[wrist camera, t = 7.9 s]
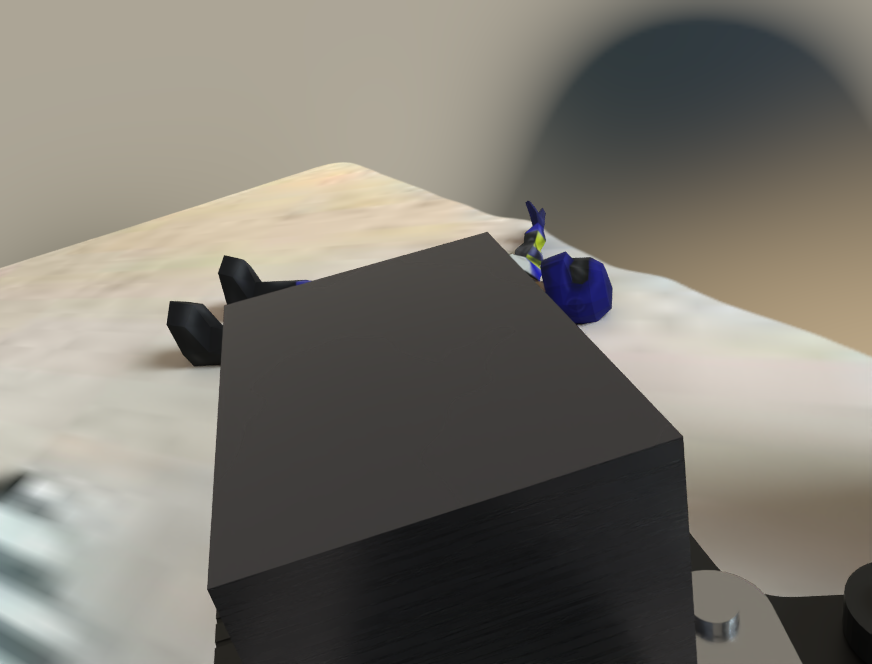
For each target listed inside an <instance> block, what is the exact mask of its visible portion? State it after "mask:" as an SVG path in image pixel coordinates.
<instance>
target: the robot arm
mask: <svg viewBox="0 0 872 664" xmlns="http://www.w3.org/2000/svg"><path fill="white" fill-rule="evenodd" d="M689 538H690V554H691V570H692V586H693V602H694V617H695V633H696V649H697V664H872V563H869V564H866V565H864V566H862V567H860V568H859V569H857V570H856V571H855V572H853V573H852V575H851V576H850V577H849V578H848V580H847V583H846V585H845V591H844V595H830V596H809V597H779V596H771V595H767V594H764V593H763V592H762V591H761V590H760V589H759V588H757V587H756V586H755V585H754V584H752V583H750V582H749V581H747V580H745V579H743V578H741V577H739V576H736V575H734V574H730V573H727V572H722V571H720V570H719V569H718V567H717V566H716V565H715V564H714V563H713V561H712V560H711V559H710V558H709V556H708V555H707V554H706V553H705V552H704V550H703V549H702V548H701V547H700V545H699V544H698V543H697V542H696V540H695V539H694V538H693V537H692V535H691V534H690V533H689ZM216 619H217V624H216V634H215V643H216V648H215V657H214V664H243V663H242V661H241V659H240V657H239V655H238V653H237V651H236V649H235V647H234V645H233V642H232V640H231V638H230V636H229V634H228V632H227V630H226V628H225V626H224V624H223V621H222V619H221V617H220V615H219V613H218V611H217V610H216Z"/></svg>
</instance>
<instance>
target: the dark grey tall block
mask: <svg viewBox="0 0 872 664" xmlns="http://www.w3.org/2000/svg"><path fill="white" fill-rule="evenodd" d="M207 590H208V592H209V594H210V596H211V598H212V601H213V603H214V605H215V607H216V609H217V611H218V613H219V615H220V617H221V619H222V621H223V624H224V626H225V628H226V630H227V632H228V634H229V636H230V638H231V640H232V642H233V645H234V647H235V649H236V651H237V653H238V655H239V657H240V659H241V661H242V663H243V664H697V649H696V633H695V617H694V602H693V586H692V570H691V554H690V538H689V522H688V506H687V491H686V475H685V459H684V443H683V436H682V435H681V434H680V433H679V432H678V431H677V430H676V429H675V428H674V427H673V425H672V424H671V423H670V422H669V421H668V420H667V419H666V418H665V417H664V416H663V415H662V414H661V413H660V412H659V411H658V410H657V409H656V408H655V407H654V406H653V405H652V404H651V402H650V401H649V400H648V399H647V398H646V397H645V396H644V395H643V394H642V393H641V392H640V391H639V390H638V389H637V388H636V387H635V386H634V385H633V384H632V383H631V382H630V381H629V379H628V378H627V377H626V376H625V375H624V374H623V373H622V372H621V371H620V370H619V369H618V368H617V367H616V366H615V365H614V364H613V363H612V362H611V361H610V360H609V359H608V358H607V356H606V355H605V354H604V353H603V352H602V351H601V350H600V349H599V348H598V347H597V346H596V345H595V344H594V343H593V342H592V341H591V340H590V339H589V338H588V337H587V336H586V335H585V333H584V332H583V331H582V330H581V329H580V328H579V327H578V326H577V325H576V324H575V323H574V322H573V321H572V320H571V319H570V318H569V317H568V316H567V315H566V314H565V313H564V312H563V311H562V309H561V308H560V307H559V306H558V305H557V304H556V303H555V302H554V301H553V300H552V299H551V298H550V297H549V296H548V295H547V294H546V293H545V292H544V291H543V290H542V289H541V288H540V286H539V285H538V284H537V283H536V282H535V281H534V280H533V279H532V278H531V277H530V276H529V275H528V274H527V273H526V272H525V271H524V270H523V269H522V268H521V267H520V266H519V265H518V263H517V262H516V261H515V260H514V259H513V258H512V257H511V256H510V255H509V254H508V253H507V252H506V251H505V250H504V249H503V248H502V247H501V246H500V245H499V244H498V243H497V242H496V240H495V239H494V238H493V237H492V236H491V235H490V234H489V233H488V232H486V233H482V234H478V235H475V236H471V237H468V238H464V239H461V240H457V241H453V242H450V243H446V244H443V245H439V246H436V247H432V248H428V249H425V250H421V251H418V252H414V253H411V254H407V255H403V256H400V257H396V258H393V259H389V260H385V261H382V262H378V263H375V264H371V265H368V266H364V267H360V268H357V269H353V270H350V271H346V272H343V273H339V274H335V275H332V276H328V277H325V278H321V279H318V280H314V281H310V282H307V283H303V284H300V285H296V286H293V287H289V288H285V289H282V290H278V291H275V292H271V293H267V294H264V295H260V296H257V297H253V298H250V299H246V300H242V301H239V302H235V303H232V304H228V305H225V306H224V320H223V337H222V353H221V370H220V386H219V403H218V419H217V436H216V453H215V469H214V486H213V502H212V519H211V535H210V552H209V568H208V585H207Z"/></svg>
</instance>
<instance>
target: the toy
mask: <svg viewBox="0 0 872 664" xmlns="http://www.w3.org/2000/svg"><path fill="white" fill-rule="evenodd" d="M526 206H527V208H528V211H529V214H530V217H531V221H532V225H533V226H532V227H531V228H530V229H529V230H528V231H527V232H526V233H525V236H524V243H523V244H522V245H521V246H519V247H518V248H517V249H516V250H515V255H514V254H509V255H510V256H511V257H512V258H513V259H514V260H515V261H516V262H517V263H518V265H519V266H520V267H521V268H522V269H523V270H524V271H525V272H526V273H527V274H528V275H529V276H530V277H531V278H532V279H533V280H534V281H535V282H536V283H537V284H538V285H539V286H540V288H541V289H542V290H543V291H544V292H545V293H546V294H547V295H548V296H549V297H550V298H551V299H552V300H553V301H554V302H555V303H556V304H557V305H558V306H559V307H560V308H561V309H562V311H563V312H564V313H565V314H566V315H567V316H568V317H569V318H570V319H571V320H572V321H573V322H574V323H575V324H585V323H591V322H597V321H599V320H600V319H601V318H602V317H603V316H604V315H605V314H606V313H607V312H608V311H609V310H610V309H612V285H611V282H610V280H609V277H608V274H607V272H606V269H605V267H604V265H603V264H602V263H601V262H599V261H597V260H595V259H593V258H591V257H586V258H571V257H570V256H569V255H568V254H567V253H566V252H563V253H560V254H557V255H555V256H552V257H550V258H547V259H544V260H543V257H542V253H541V249H542V247H543V245H544V244H545V242H546V239H545V234H544V225H545V214H546V213H545V211H544V210H543V208H542V209H541V210H540V211H539V212H538V211H537V210H536V208H535V207H534V206H533V205H532V203H531V202H530V201H527V202H526ZM540 265H541V266H540ZM539 266H540V267H539ZM218 275H219V278H220V282H221V285H222V289H223V292H224V295H225V299H226V302H227V305H228V304H232V303H235V302H239V301H242V300H246V299H250V298H253V297H257V296H260V295H264V294H267V293H271V292H275V291H278V290H282V289H285V288H289V287H293V286H296V285H300V284H303V283H307V282H310V281H309V280H294V281H272V282H261V280H260V279H259V277H258V276H257V274H256V273H255V272H254V270H253V269H252V267H251V266H250V265H249V264H248V263H247V262H246V261H245V260H243V259H238V258H234V257H230V256H225V255H224V257H223V260H222V263H221V266H220V269H219V272H218ZM541 275H542V279H543V282H542V281H540V277H541ZM167 326H168V328H169V330H170V332H171V334H172V335H173V337H174V339H175V341H176V343H177V345H178V346H179V348H180V350H181V352H182V354H183V355H184V356H185V357H186V358H187V359H188V361H189V362H190V363H191V364H192V365H193V366H206V365H221V353H222V337H223V325H222V324H221V323H220V322H219V321H218V320H217V319H216V318H215V316H214V315H213V314H212V313H211V312H210V311H209V310H208V309H207V308H206V307H205V306H204V305H203V304H199V303H192V302H180V301H170V304H169V311H168V318H167Z"/></svg>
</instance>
